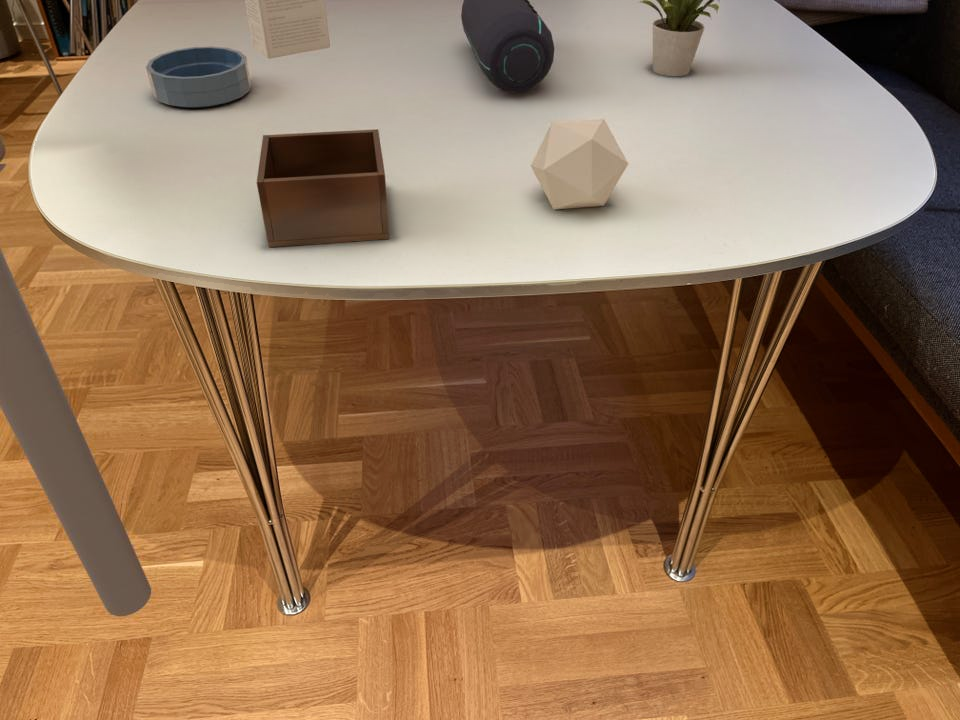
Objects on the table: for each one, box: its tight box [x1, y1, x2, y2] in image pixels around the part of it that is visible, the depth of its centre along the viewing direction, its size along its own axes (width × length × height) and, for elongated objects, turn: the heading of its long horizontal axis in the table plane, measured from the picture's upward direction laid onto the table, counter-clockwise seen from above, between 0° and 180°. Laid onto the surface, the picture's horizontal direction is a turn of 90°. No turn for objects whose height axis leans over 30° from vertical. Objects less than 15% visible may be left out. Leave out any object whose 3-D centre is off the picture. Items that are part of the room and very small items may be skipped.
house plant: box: [637, 0, 720, 77], centre depth 105 cm, size 14×14×16 cm
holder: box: [256, 128, 390, 248], centre depth 74 cm, size 11×10×7 cm
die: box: [530, 118, 629, 211], centre depth 77 cm, size 8×9×10 cm
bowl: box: [145, 45, 252, 109], centre depth 100 cm, size 12×12×4 cm
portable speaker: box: [460, 0, 555, 93], centre depth 106 cm, size 25×10×10 cm, turn 9°
